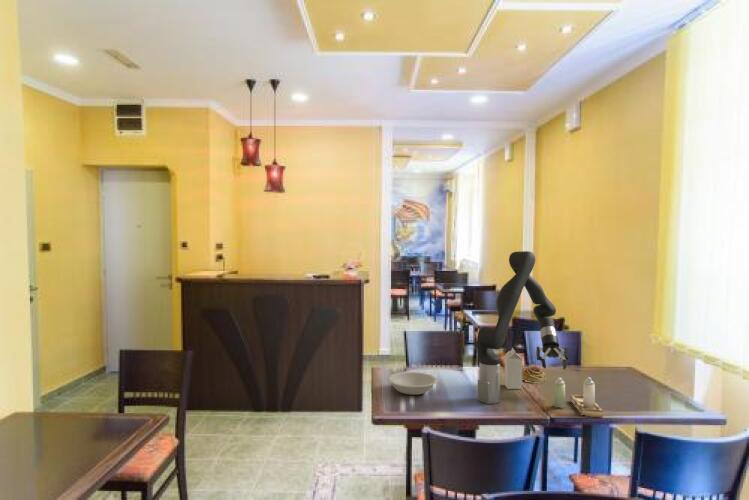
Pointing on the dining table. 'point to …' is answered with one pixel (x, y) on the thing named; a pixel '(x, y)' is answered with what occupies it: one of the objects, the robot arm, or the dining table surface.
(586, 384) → the salt mill
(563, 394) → the pepper mill
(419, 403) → the dining table surface
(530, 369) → the pastry
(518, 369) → the milk carton
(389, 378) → the soup bowl
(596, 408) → the condiment stand
